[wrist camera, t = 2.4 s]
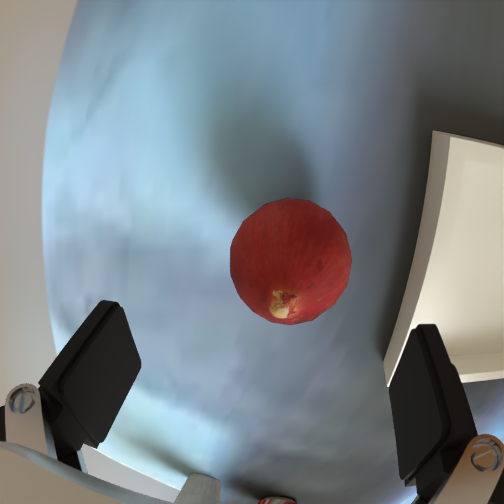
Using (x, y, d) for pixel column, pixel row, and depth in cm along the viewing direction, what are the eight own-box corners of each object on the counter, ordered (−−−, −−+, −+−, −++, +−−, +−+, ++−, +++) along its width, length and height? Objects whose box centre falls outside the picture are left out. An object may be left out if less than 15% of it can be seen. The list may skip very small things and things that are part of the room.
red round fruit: (353, 261, 19) (369, 357, 12) (264, 280, 21) (239, 376, 14) (330, 169, 17) (344, 228, 10) (232, 197, 18) (181, 267, 11)
